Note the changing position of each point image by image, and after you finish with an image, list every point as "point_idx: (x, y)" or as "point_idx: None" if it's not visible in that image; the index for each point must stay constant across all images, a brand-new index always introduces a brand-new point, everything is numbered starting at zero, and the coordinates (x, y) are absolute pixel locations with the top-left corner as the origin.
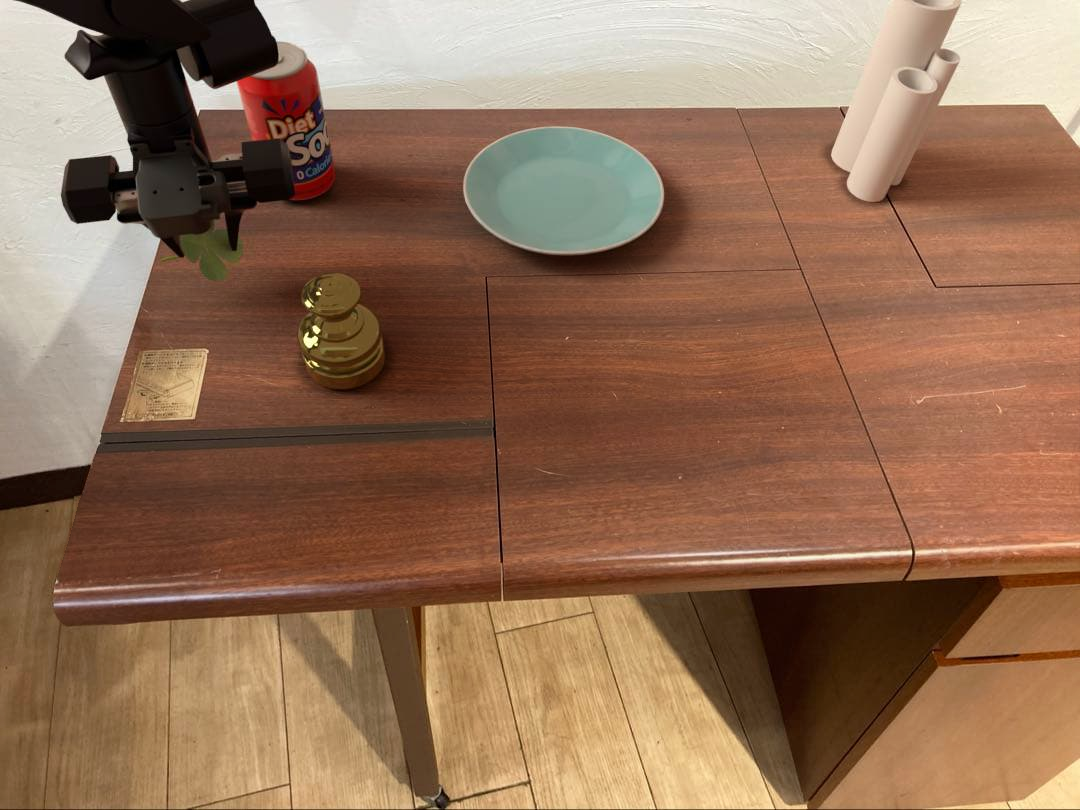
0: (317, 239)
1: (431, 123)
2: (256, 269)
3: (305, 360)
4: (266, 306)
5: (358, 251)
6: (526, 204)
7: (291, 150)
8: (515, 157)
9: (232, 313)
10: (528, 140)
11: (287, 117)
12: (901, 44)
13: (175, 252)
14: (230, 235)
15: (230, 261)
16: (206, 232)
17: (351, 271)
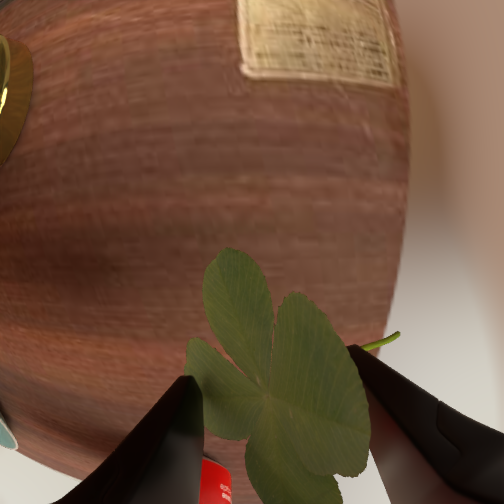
0: (111, 390)
1: None
2: (188, 338)
3: (4, 46)
4: (131, 228)
5: (46, 358)
6: None
7: None
8: (2, 429)
9: (207, 200)
10: (3, 439)
11: None
12: None
13: (371, 357)
14: (158, 428)
15: (200, 343)
16: (262, 438)
17: (33, 319)
